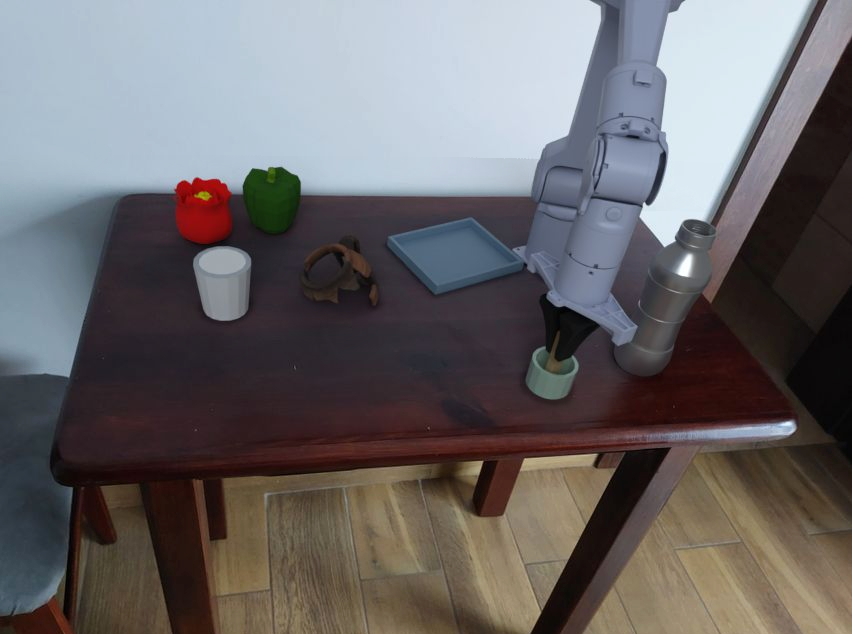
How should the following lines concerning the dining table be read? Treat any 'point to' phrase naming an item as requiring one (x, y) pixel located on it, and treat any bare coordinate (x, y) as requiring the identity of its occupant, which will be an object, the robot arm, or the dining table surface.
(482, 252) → the spoon tray
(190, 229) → the flower
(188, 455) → the dining table surface
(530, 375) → the espresso cup
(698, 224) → the grey metal bottle
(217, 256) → the shot glass
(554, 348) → the stirrer
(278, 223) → the bell pepper
